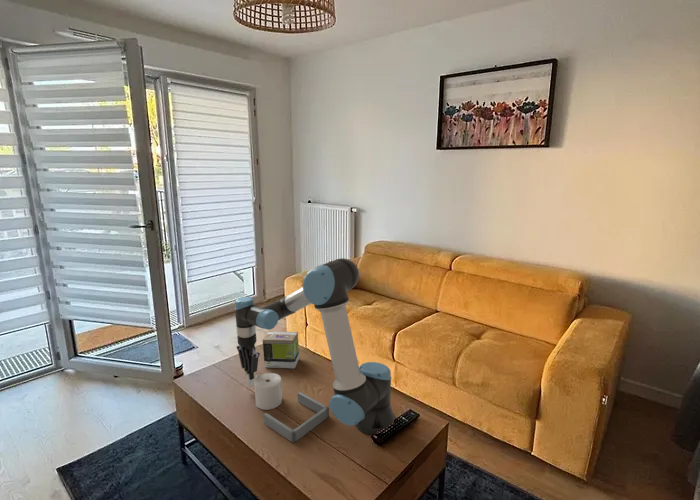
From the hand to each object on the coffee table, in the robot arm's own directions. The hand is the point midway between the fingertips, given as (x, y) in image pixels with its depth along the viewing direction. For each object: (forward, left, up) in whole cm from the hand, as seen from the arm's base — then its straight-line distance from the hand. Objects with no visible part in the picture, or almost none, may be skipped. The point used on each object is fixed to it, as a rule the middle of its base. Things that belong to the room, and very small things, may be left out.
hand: (250, 384), depth 165 cm
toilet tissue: (-11, 0, -4) cm, 11 cm away
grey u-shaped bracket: (-28, 0, -3) cm, 28 cm away
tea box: (+8, -24, -4) cm, 25 cm away
